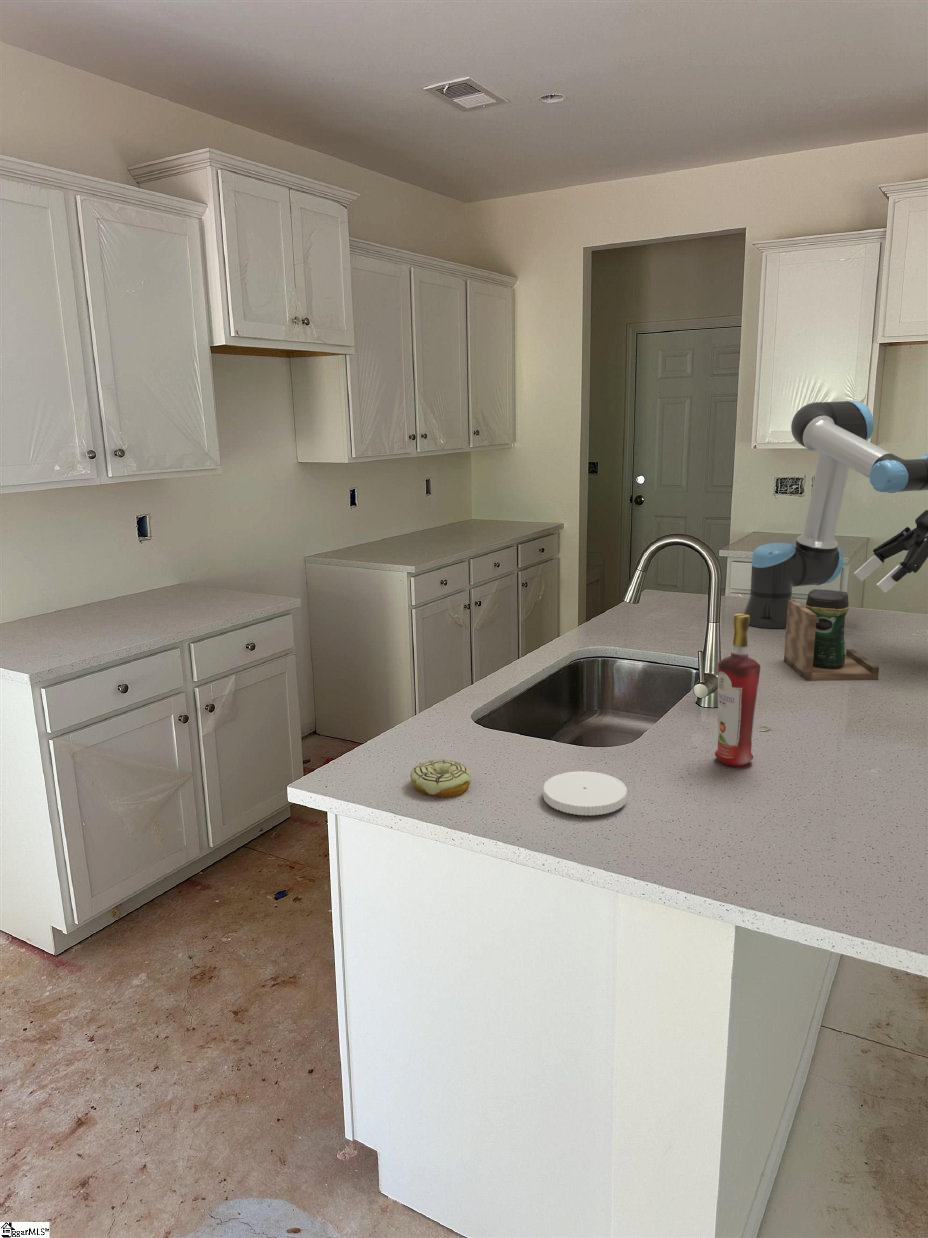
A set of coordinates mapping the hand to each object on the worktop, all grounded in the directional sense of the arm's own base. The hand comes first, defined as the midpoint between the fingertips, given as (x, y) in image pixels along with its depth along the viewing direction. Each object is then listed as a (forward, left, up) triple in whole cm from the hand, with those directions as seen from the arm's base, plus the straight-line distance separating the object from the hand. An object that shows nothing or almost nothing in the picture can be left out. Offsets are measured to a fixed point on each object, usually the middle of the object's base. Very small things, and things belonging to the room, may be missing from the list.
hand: (868, 583), depth 210 cm
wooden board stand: (-3, -7, -22) cm, 23 cm away
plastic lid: (+42, -95, -22) cm, 106 cm away
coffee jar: (-3, -9, -20) cm, 22 cm away
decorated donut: (+28, -116, -22) cm, 122 cm away
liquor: (+37, -62, -22) cm, 76 cm away
